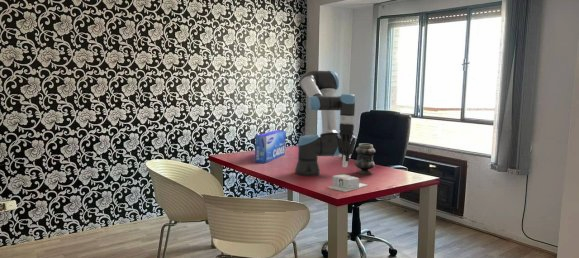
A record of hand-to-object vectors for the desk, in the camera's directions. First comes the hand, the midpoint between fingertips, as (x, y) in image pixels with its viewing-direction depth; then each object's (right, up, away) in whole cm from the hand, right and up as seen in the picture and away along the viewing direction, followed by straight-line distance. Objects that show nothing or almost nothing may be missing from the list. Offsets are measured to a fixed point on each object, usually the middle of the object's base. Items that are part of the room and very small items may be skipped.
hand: (345, 166), depth 235 cm
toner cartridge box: (-43, -1, +78) cm, 89 cm away
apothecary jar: (+16, -7, +35) cm, 39 cm away
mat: (+2, -11, -1) cm, 11 cm away
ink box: (-3, -7, +3) cm, 8 cm away
